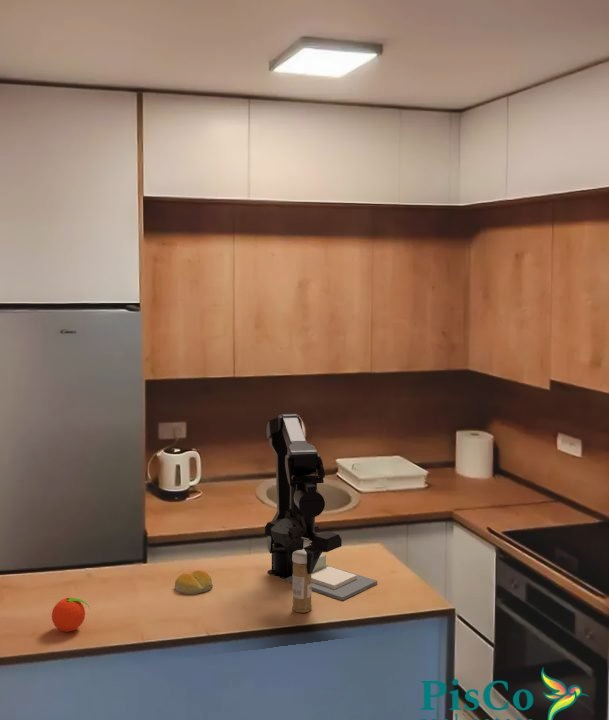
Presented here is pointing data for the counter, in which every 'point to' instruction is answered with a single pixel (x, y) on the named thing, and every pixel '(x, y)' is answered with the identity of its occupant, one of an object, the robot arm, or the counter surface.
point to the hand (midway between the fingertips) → (302, 571)
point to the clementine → (68, 614)
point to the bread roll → (193, 583)
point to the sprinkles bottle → (301, 582)
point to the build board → (336, 581)
